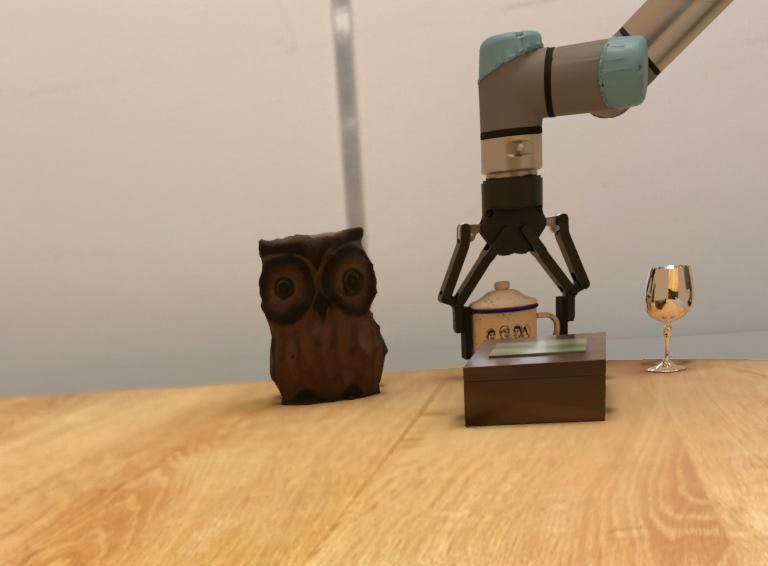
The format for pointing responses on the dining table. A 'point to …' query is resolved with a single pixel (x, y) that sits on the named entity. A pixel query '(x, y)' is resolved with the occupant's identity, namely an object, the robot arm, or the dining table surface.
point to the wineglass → (668, 302)
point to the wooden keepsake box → (536, 380)
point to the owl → (321, 317)
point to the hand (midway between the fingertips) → (514, 353)
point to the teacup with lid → (505, 315)
